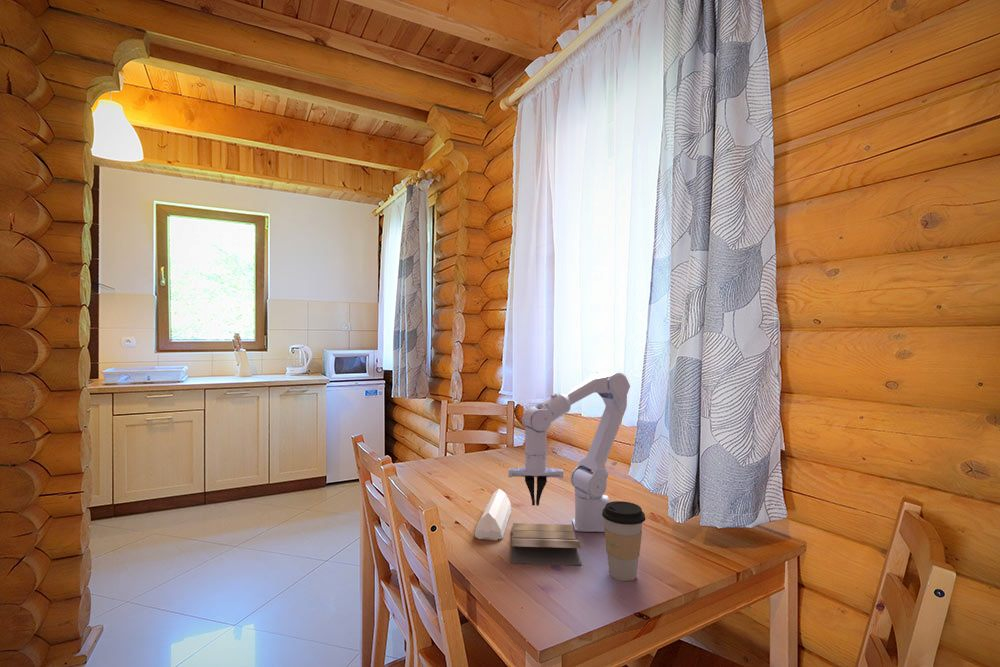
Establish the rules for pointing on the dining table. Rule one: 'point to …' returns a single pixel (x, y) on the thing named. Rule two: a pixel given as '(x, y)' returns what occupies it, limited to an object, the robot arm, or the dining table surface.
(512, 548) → the underlay mat
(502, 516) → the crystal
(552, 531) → the walnut boards
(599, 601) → the dining table surface
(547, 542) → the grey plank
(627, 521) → the coffee cup
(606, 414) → the robot arm
